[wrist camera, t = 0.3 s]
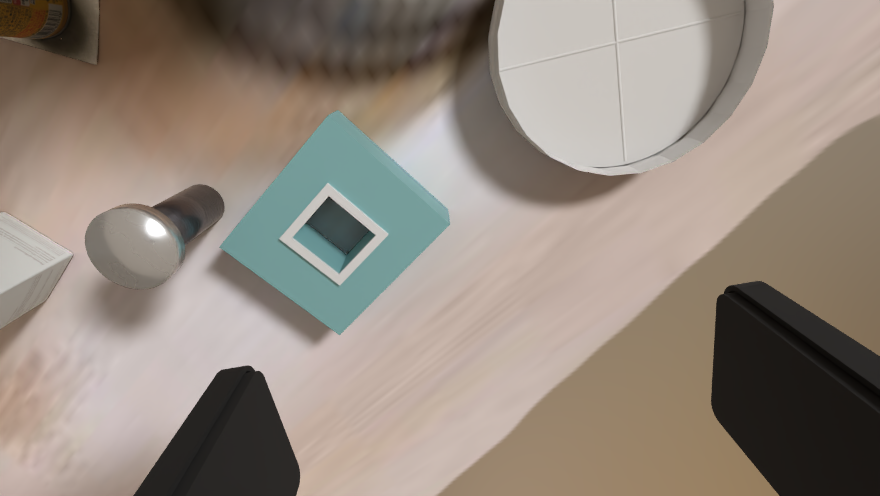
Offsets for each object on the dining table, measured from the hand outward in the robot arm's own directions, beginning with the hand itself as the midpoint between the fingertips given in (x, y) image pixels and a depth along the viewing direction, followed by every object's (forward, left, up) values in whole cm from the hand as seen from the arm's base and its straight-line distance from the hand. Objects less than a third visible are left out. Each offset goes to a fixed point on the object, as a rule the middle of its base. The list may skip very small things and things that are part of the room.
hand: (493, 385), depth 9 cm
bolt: (-12, -21, -36) cm, 44 cm away
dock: (-1, -13, -36) cm, 39 cm away
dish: (+6, +16, -37) cm, 41 cm away
